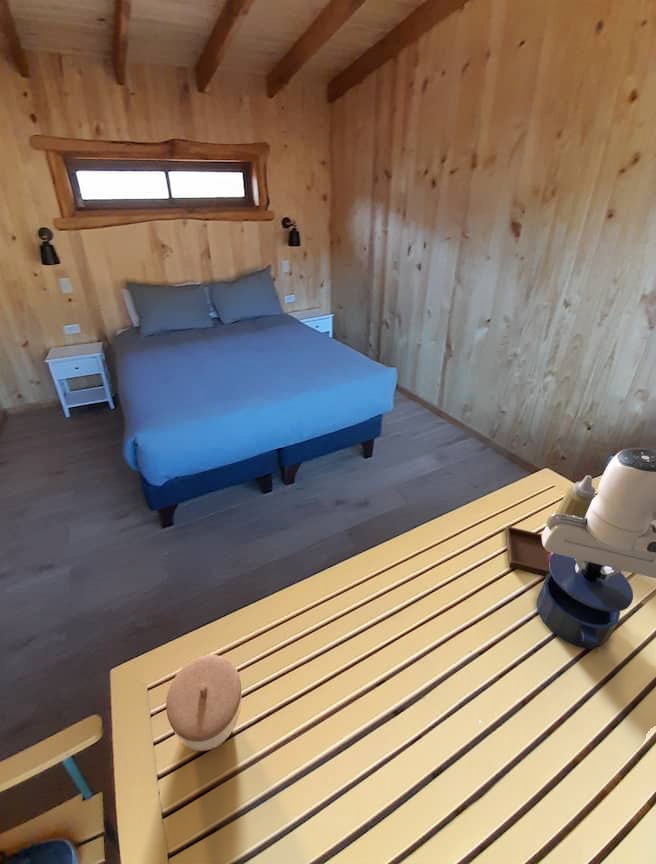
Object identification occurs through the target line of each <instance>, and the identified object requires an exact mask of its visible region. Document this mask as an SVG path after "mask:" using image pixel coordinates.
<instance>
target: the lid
mask: <svg viewBox="0 0 656 864" xmlns="http://www.w3.org/2000/svg"><path fill="white" fill-rule="evenodd" d="M584 563H586V567H587V570H588V571H587V572H586V575H583V574H579V573H576V569H575V566H576V560H575V558H571V557H567V556H563V555H559V554H555V553H553V554H552V555H551V557H550V559H549V570H550V573H551V575H552V577H553V578H554V580H555V581H556V583H557V584H558V585H559V586H560V587H561V588H562V589H563V590H564V591H565V592H566V593H567V594H569V595H570V596H571V597H573V598H574V599H576V600H577V601H579V602H581V603H583V604H585V605H587V606H589V607H592V608H594V609H597V610H601V611H607V612H618V611H620V612H622V611H625V610H627V609H628V608H629V607H630V606H631V604H632V603H633V600H634V592H633V588H632V586H631V584H630V582H629V580H628V579H627V578H626V577H625V575H624V574H623V573H622V572H621V571H620V572H619V573H617V574H614V575H612V576H610V577H609V579H608V581H606V580H602V579H599V578H598V576H599V574H600V572H601V570H602V568H604V567H605V566H604V565H600V564H596V563H591V562H587V561H585V562H584Z"/></svg>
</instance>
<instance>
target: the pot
mask: <svg viewBox="0 0 656 864" xmlns="http://www.w3.org/2000/svg"><path fill="white" fill-rule="evenodd" d="M536 610H537V613H538V615H539V617H540V619H541V621H542V622H543V623H544V625H545V626H546V628H547V629H548V630H550V631H551V632H552V633H553V634H554V635H556V637H558V638H559V639H560V640H562V641H564V642H565V643H567V644H569V645H572V646H575V647H577V648H580V649H585V650H595V649H599V648H601V647H603V646H604V645H606V643H607V642H608V641H609V640H610V638H611V636H612V635H613V633H614V631H615V629H616V627H617V625H618V623H619V622H620V621H619V620H620V615H621V611H618V612H607V611H601V610H597V609H594V608H592V607H589V606H587V605H585V604H583V603H581V602H579V601H577V600H576V599H574V598H573V597H571V596H570V595H569V594H567V593H566V592H565V591H564V590H563V589H562V588H561V587H560V586H559V585H558V584H557V583H556V581H555V580H554V578H553V577H552V575H551V573H549V574H547V576H546V577H544V581H543V583H542V586H541V588H540V591H539V593H538V596H537V598H536Z"/></svg>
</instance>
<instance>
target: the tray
mask: <svg viewBox="0 0 656 864" xmlns="http://www.w3.org/2000/svg"><path fill="white" fill-rule="evenodd" d="M504 533H505V543H506V544H505V545H506V551H507V563H508V568H509V569H513V570H518V571H520V572H525V573H529V574H533V575H536V576H540V577H544V578H546V576H547V574H549V573H550V570H549V565H548V562H547V556H548V554H549V553H550V552H548V551H546V550H545V548H544V547H543V544H542V533H539V532H534V531H530V530H525V529H521V528H516V527H512V526H508V525H506V527H505V530H504Z"/></svg>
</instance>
